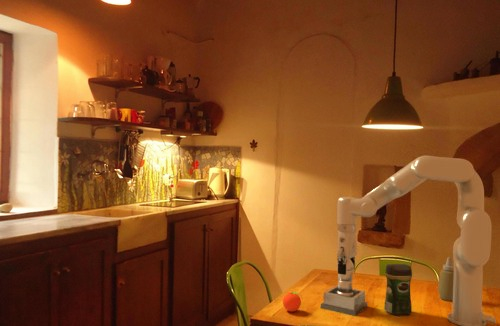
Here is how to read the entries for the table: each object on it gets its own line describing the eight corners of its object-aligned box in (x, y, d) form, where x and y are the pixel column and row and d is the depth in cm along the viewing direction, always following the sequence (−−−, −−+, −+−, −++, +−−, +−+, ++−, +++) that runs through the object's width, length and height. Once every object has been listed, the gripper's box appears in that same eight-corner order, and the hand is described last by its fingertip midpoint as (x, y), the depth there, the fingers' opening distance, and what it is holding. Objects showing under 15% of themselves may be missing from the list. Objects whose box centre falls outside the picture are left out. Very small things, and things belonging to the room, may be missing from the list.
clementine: (297, 307, 166) (298, 288, 166) (306, 313, 159) (307, 294, 159) (279, 308, 163) (279, 290, 163) (287, 315, 156) (287, 295, 156)
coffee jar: (403, 308, 168) (404, 261, 168) (414, 315, 160) (416, 266, 160) (380, 309, 166) (382, 262, 166) (391, 316, 158) (392, 266, 158)
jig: (367, 306, 169) (367, 291, 169) (355, 315, 158) (355, 299, 158) (334, 299, 177) (334, 284, 177) (320, 307, 165) (321, 292, 165)
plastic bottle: (353, 306, 163) (355, 255, 163) (336, 305, 165) (337, 253, 165) (353, 301, 170) (354, 251, 170) (335, 300, 171) (337, 250, 171)
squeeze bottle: (437, 300, 181) (438, 257, 181) (438, 295, 188) (439, 254, 188) (458, 303, 177) (459, 260, 177) (458, 298, 184) (459, 257, 184)
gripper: (348, 231, 158) (347, 277, 158) (363, 226, 173) (362, 268, 172) (329, 230, 162) (328, 274, 162) (345, 225, 177) (345, 266, 177)
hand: (346, 271), depth 167 cm, fingers open, 9 cm apart
